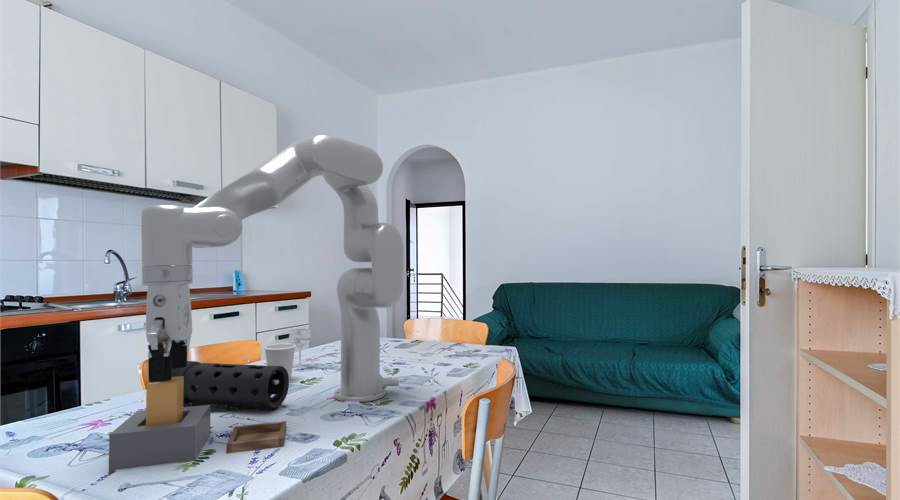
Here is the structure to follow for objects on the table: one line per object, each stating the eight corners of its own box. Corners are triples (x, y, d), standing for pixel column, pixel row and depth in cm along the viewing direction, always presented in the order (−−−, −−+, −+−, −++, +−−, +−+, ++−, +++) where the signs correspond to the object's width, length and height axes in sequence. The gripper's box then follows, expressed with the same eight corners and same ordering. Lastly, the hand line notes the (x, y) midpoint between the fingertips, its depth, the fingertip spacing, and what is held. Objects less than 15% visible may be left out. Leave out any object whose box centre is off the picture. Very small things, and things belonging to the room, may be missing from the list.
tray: (286, 431, 88) (286, 421, 88) (283, 449, 80) (283, 437, 80) (234, 437, 86) (234, 426, 86) (226, 456, 77) (226, 444, 77)
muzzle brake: (265, 419, 96) (265, 369, 96) (153, 411, 102) (154, 365, 102) (290, 405, 105) (290, 360, 106) (185, 399, 111) (186, 356, 111)
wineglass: (284, 370, 141) (284, 331, 141) (295, 365, 147) (295, 328, 148) (304, 371, 140) (305, 331, 140) (314, 366, 146) (315, 329, 147)
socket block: (210, 436, 86) (210, 404, 86) (194, 463, 74) (195, 425, 74) (136, 444, 82) (137, 411, 82) (108, 473, 71) (109, 434, 71)
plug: (182, 432, 81) (183, 364, 82) (176, 441, 77) (177, 370, 77) (153, 435, 80) (155, 366, 80) (145, 445, 75) (146, 372, 76)
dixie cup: (284, 376, 133) (284, 342, 133) (301, 380, 128) (302, 345, 128) (257, 382, 126) (257, 346, 126) (275, 387, 121) (275, 349, 121)
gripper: (178, 277, 72) (180, 385, 72) (203, 273, 89) (204, 361, 89) (123, 278, 70) (124, 390, 70) (159, 275, 87) (160, 365, 86)
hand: (169, 374), depth 79 cm, fingers open, 9 cm apart
